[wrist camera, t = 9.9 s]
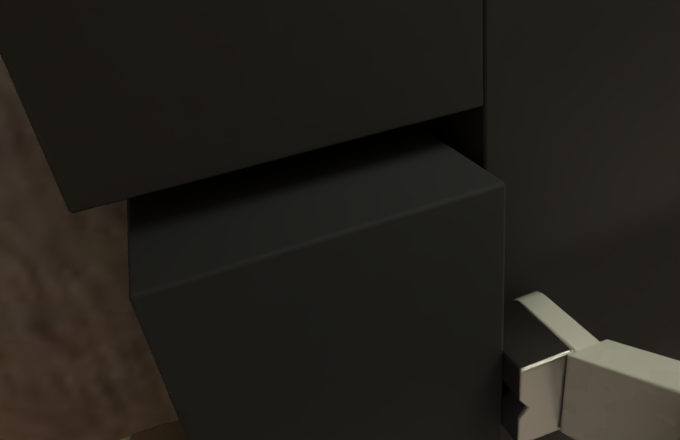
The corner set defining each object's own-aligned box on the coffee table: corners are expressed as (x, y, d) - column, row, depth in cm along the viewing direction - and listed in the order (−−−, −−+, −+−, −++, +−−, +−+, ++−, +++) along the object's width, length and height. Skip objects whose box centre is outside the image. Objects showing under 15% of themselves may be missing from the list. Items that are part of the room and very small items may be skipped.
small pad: (125, 192, 9) (126, 297, 6) (410, 119, 10) (507, 181, 7) (238, 498, 13) (267, 636, 10) (433, 420, 14) (501, 527, 11)
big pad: (-41, -177, 7) (-125, -233, 5) (769, -263, 10) (974, -324, 8) (250, 568, 16) (274, 684, 14) (639, 401, 19) (716, 471, 17)
